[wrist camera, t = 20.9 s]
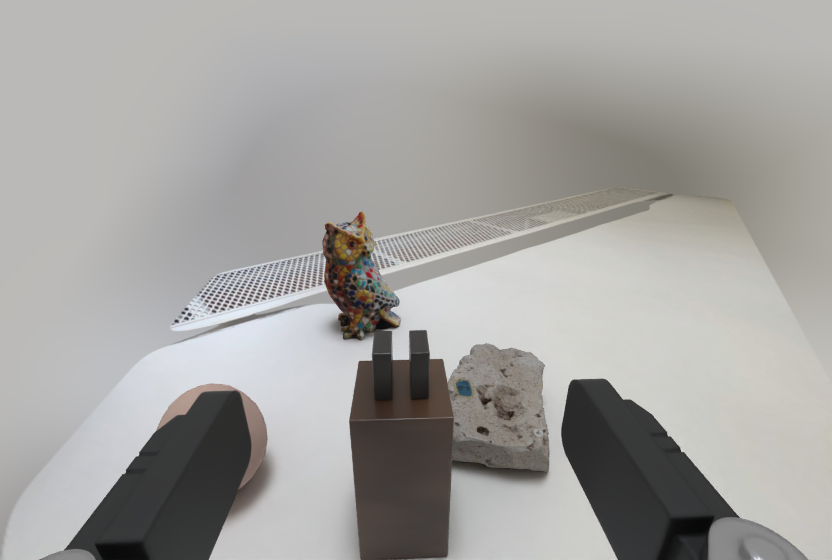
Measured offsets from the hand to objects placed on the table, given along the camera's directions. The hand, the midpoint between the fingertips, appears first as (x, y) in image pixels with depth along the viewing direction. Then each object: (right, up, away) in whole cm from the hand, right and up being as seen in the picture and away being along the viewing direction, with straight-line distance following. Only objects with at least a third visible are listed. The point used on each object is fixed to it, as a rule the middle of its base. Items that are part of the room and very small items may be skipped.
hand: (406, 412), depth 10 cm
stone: (+7, -10, +26) cm, 28 cm away
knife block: (-1, -13, +17) cm, 22 cm away
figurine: (-7, -3, +42) cm, 42 cm away
